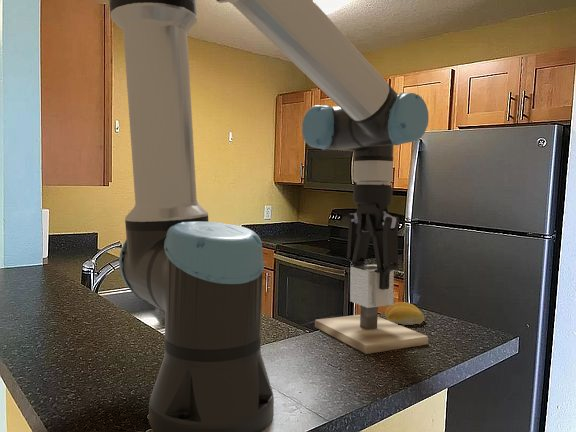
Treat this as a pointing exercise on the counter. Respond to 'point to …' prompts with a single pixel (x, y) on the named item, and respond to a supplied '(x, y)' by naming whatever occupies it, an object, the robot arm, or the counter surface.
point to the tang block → (370, 332)
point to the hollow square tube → (366, 285)
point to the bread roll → (404, 314)
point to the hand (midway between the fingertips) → (369, 301)
